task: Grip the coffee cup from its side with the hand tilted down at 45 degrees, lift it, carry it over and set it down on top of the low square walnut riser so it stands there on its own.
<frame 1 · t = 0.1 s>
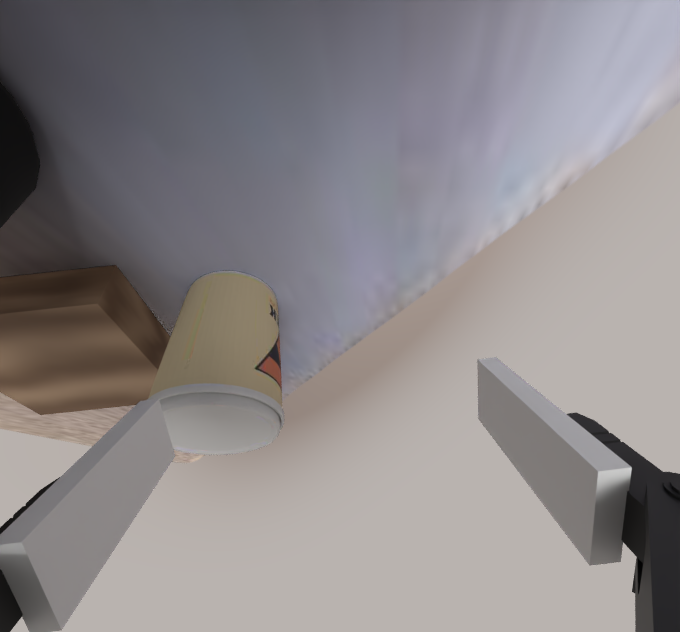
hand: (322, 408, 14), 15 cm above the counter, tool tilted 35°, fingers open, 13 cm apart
coffee cup: (234, 300, 31), on the counter
walnut riser: (81, 333, 33), on the counter
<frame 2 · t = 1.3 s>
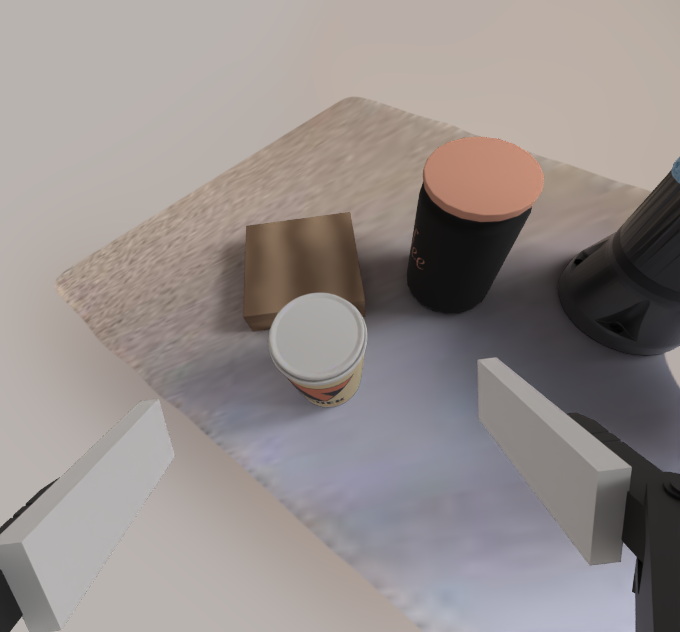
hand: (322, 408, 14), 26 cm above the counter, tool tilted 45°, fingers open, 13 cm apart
coffee cup: (329, 376, 43), on the counter
coffee jar: (445, 284, 48), on the counter
walnut riser: (305, 277, 50), on the counter
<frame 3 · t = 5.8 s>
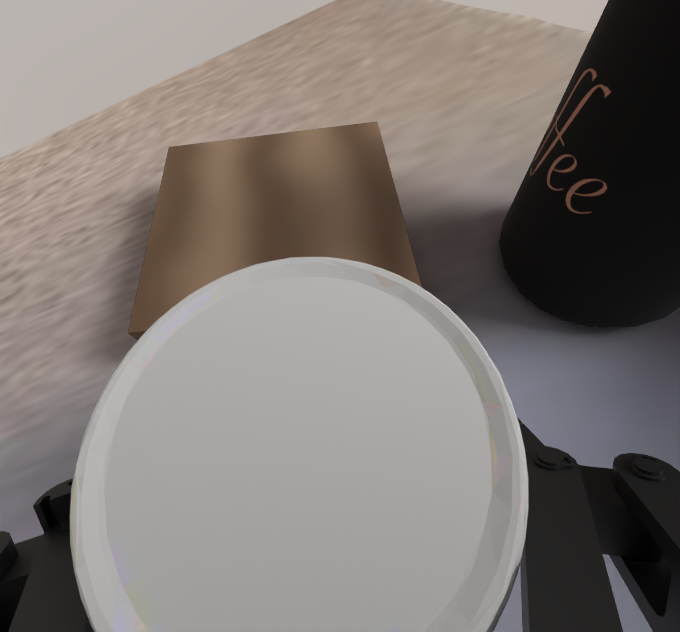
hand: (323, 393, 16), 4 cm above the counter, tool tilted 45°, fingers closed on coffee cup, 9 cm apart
coffee cup: (336, 480, 18), on the counter, touching gripper
coffee jar: (576, 265, 23), on the counter
walnut riser: (286, 251, 25), on the counter
when the fingers open (9 cm above the counter, at t = 11.8 s): coffee cup stays where it is, resting on walnut riser.
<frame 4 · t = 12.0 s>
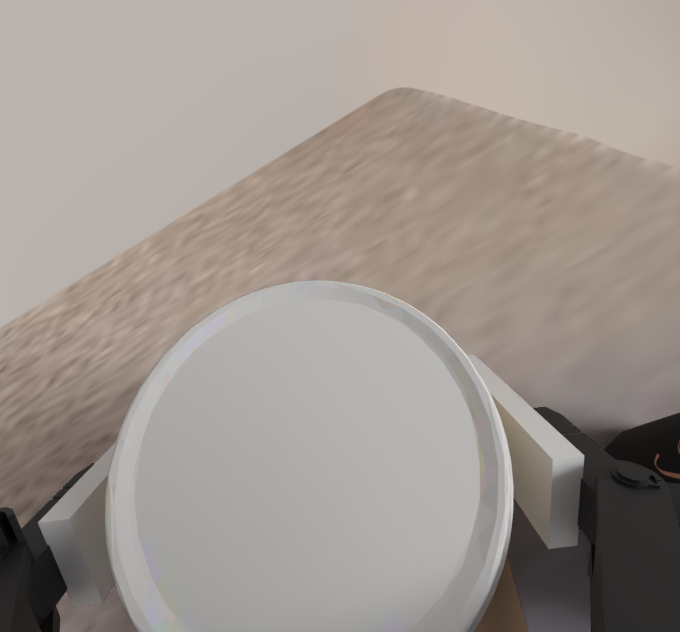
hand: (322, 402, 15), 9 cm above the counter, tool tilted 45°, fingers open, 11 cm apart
coffee cup: (338, 483, 18), point 4 cm above the counter, touching walnut riser
walnut riser: (341, 487, 22), on the counter
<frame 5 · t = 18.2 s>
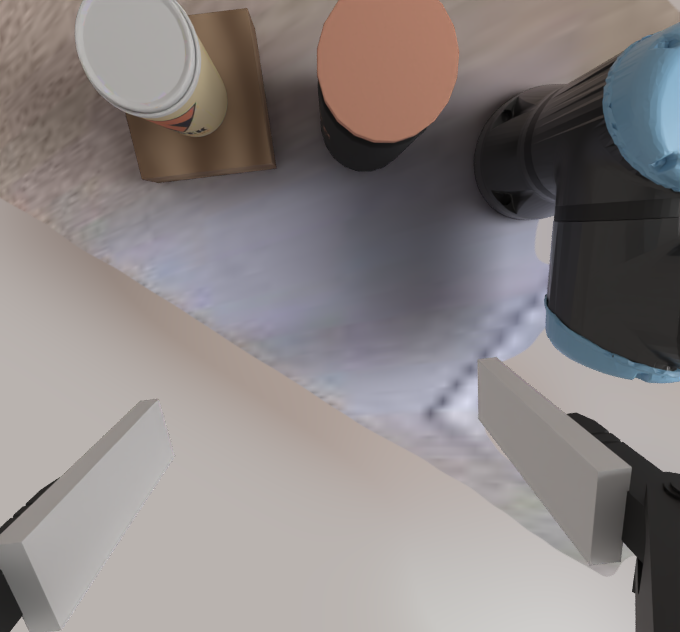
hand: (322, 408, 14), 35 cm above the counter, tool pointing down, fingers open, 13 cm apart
coffee cup: (193, 99, 38), point 4 cm above the counter, touching walnut riser
coffee jar: (364, 127, 43), on the counter
walnut riser: (204, 109, 42), on the counter
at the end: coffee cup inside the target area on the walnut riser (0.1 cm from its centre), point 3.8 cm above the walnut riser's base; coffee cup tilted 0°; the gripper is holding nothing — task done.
